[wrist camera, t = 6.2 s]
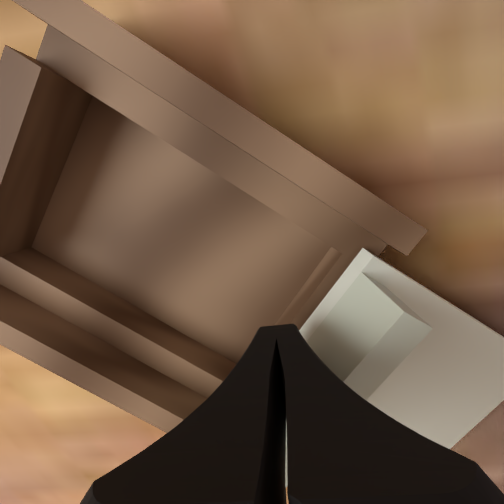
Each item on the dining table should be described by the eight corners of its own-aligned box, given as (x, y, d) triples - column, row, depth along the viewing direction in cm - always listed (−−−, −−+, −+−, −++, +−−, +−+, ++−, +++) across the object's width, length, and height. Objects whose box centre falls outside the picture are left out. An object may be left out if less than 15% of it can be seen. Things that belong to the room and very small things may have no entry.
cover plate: (526, 351, 14) (613, 410, 11) (399, 471, 17) (442, 546, 13) (362, 247, 11) (422, 292, 8) (233, 416, 13) (239, 500, 10)
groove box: (382, 213, 13) (428, 230, 9) (242, 400, 16) (233, 468, 12) (97, 25, 12) (17, -43, 8) (4, 267, 15) (-85, 299, 11)
